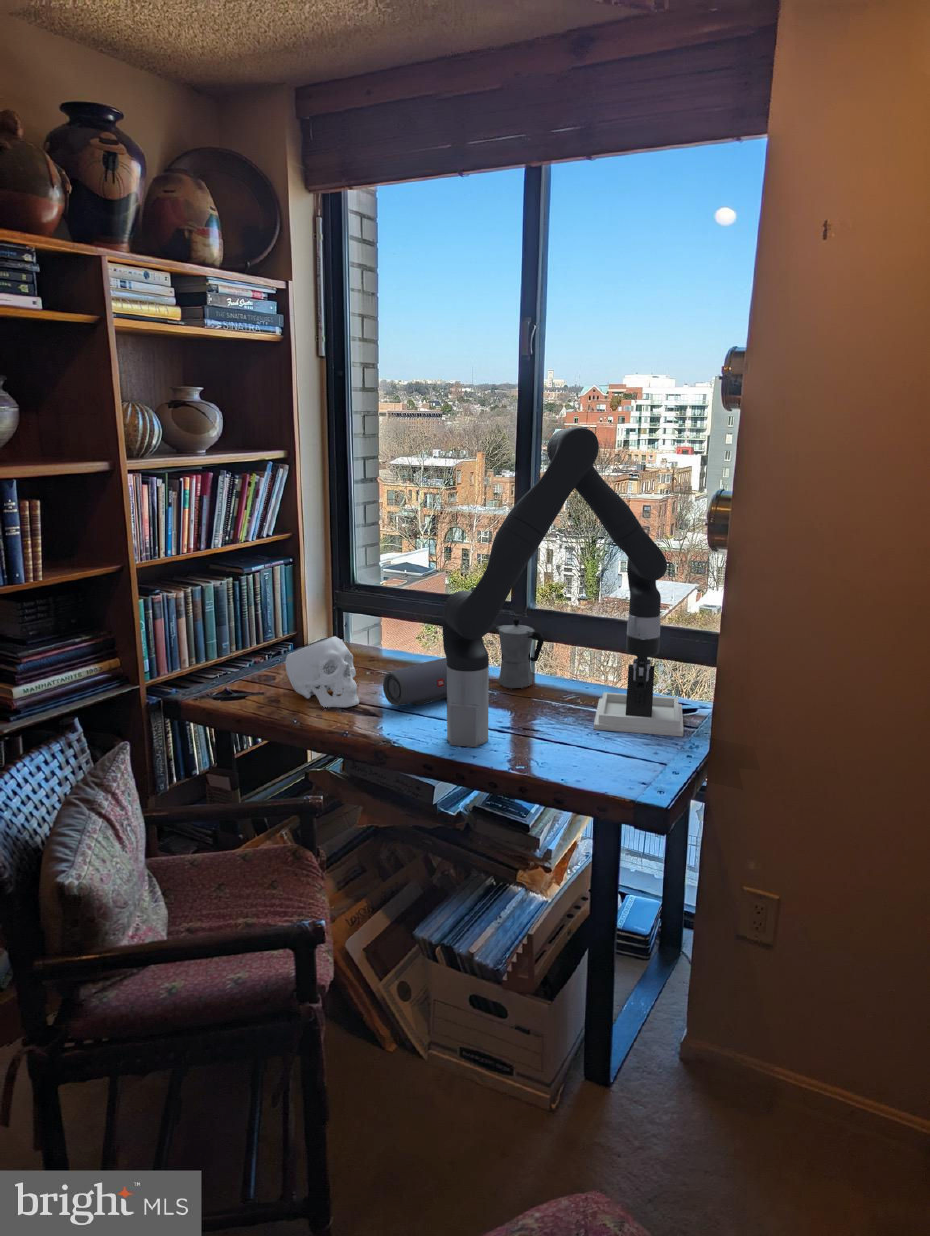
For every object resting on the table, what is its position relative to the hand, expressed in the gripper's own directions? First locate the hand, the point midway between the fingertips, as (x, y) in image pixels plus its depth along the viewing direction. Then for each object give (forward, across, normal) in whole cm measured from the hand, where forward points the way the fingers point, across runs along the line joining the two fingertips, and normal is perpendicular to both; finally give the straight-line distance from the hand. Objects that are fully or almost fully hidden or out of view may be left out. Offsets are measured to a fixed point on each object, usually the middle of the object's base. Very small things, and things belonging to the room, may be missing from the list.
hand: (639, 701), depth 199 cm
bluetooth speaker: (+5, -2, -52) cm, 52 cm away
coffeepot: (+5, -19, -32) cm, 38 cm away
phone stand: (+3, 0, 0) cm, 3 cm away
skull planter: (+5, +3, -78) cm, 78 cm away
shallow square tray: (+4, 0, 0) cm, 4 cm away
